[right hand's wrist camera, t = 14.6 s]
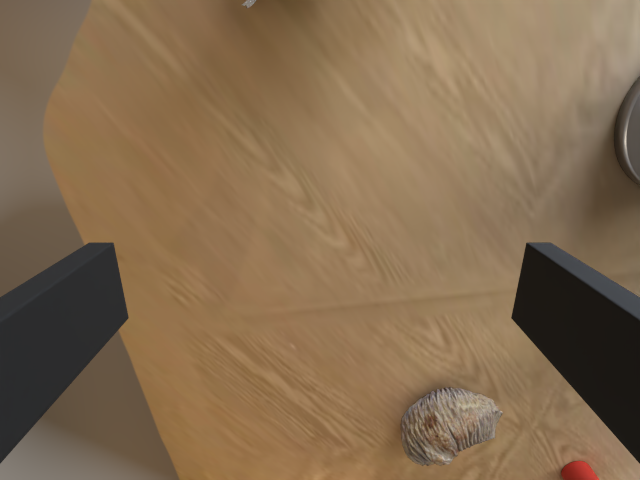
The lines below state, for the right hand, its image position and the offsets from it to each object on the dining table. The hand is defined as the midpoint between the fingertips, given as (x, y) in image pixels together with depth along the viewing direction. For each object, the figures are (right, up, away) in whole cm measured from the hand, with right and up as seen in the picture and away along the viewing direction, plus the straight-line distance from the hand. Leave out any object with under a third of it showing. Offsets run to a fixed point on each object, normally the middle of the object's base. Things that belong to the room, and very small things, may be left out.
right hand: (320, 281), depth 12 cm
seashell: (+17, -22, +40) cm, 49 cm away
